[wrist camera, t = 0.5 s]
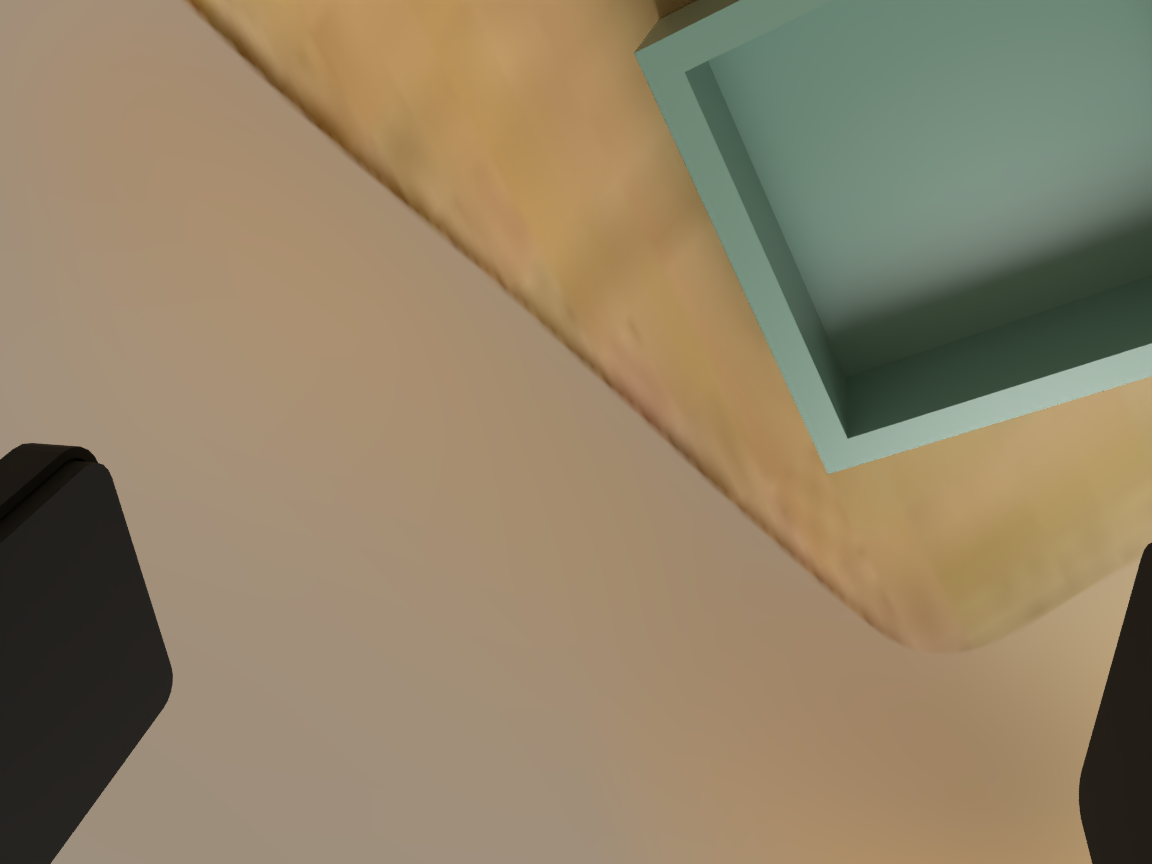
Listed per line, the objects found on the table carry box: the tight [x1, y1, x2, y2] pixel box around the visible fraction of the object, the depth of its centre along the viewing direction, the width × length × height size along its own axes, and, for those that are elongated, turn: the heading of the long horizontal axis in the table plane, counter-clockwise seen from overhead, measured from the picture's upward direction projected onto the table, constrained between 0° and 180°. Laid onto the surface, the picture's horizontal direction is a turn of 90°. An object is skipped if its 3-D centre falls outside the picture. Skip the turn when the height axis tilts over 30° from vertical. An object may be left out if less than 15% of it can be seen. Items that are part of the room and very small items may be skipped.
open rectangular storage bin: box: [634, 0, 1152, 474], centre depth 30 cm, size 14×14×5 cm
